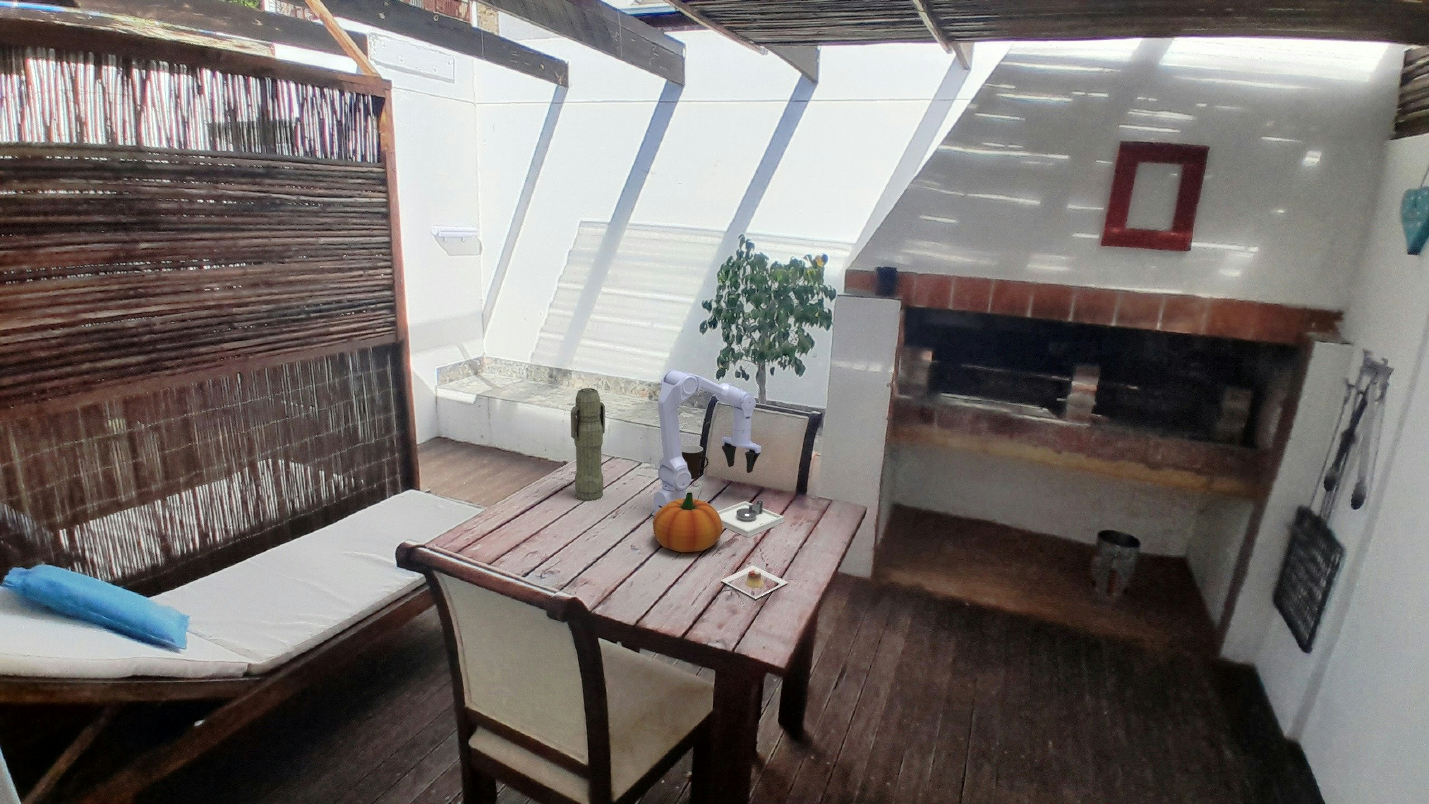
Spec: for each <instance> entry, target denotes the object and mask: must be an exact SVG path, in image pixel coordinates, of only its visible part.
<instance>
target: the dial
mask: <svg viewBox="0 0 1429 804" xmlns="http://www.w3.org/2000/svg"><path fill="white" fill-rule="evenodd" d="M752 504H753V505H750V506H749V508H742V509H739V510H737V513H736V517H737V518H738V519H740V520H745V521H750V520H754V519H756V515H757V513H761V512H762V508H763V504H764V501H763V500H757V501H756V503H752Z"/></svg>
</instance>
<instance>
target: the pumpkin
mask: <svg viewBox="0 0 1429 804" xmlns="http://www.w3.org/2000/svg"><path fill="white" fill-rule="evenodd" d="M717 511H718V510H716V509H715V507H714V506H712V505H711V504H710V503H708V502H706V501H704V500H699V499H696V498H693V492H686V498H685V499H677V500H675V501H672V502H670V503H668V504H667V505H665V506H664V507H662V508H661V509H660V510H659V511H658V512H657V513H656V514H655V516H654V517H653V521H652V531H653V534H654V537H655V539H656V540H657V542H658V543H659V544H660V545H661V547H663V548H665V549H669V550H673V551H676V552H680V553H690V552H691V553H692V552H700V551H701V552H702V551H705V550H707V549H709V548H711V547H713V546H714V545H715V544H716V543H717V541H718V540H719V539H721V535H722V533H723V528H724V527H723V526H722V522H721V518H720V516H719V514H718V513H717Z"/></svg>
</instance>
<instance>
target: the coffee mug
mask: <svg viewBox="0 0 1429 804" xmlns="http://www.w3.org/2000/svg"><path fill="white" fill-rule="evenodd" d="M681 450H682V457H683V459H684V460H685V462H686V464H687V467H688V471H689V472H690V474H691V480H695V479H698V478H699V477H700V472H701V471H702V470H704V469H706V468H707V467H708V465H709V458H708V457H707V456H705V455H703V452H704V447H702V446H701V445H696V444H695V445H694V444H685V445H681ZM703 458H704V459H705V461H706V464H705V466H703V467H701V466H702V459H703Z"/></svg>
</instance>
